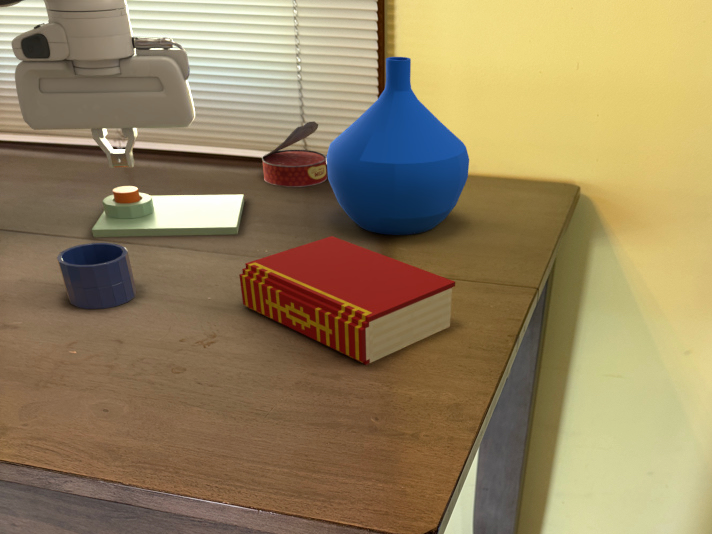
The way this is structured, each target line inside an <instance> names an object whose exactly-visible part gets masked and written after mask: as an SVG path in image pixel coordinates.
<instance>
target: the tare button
mask: <svg viewBox="0 0 712 534" xmlns="http://www.w3.org/2000/svg"><path fill="white" fill-rule="evenodd" d="M139 193H140V191H139V187H137V186H133V185H123V186H122V185H121V186H117V187H114V188H112V195H114V199H115V203H121V204H124V203H134V202H138V201H140V196H139Z"/></svg>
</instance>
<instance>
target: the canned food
mask: <svg viewBox="0 0 712 534" xmlns="http://www.w3.org/2000/svg"><path fill="white" fill-rule="evenodd" d="M318 128H319V123H317V122H316V121H308V122H306V123H304V124H303V125H300V126H297V127H296V128H295V129H294V130H292V131H291V132H290V134H289V135H288V136H287V137H286V139H284V141H283V142H281V143H280V144H279V145H278V146H276V148H275V149H272V150H271V151H269V152H268V153H265V154H263V155H262V156H261V161H262V170H263V171H262V172H263V180H264V182H266V183H267V184H270V185H273V186H276V187H277V186H278V187H285V188H302V187H311V186H316V185H319V184H322V183H325V182H326V180H328V172H327V158H326V156H327V155H325V154H324V153H322V152H319V151H315V150H310V149H286V148H288V147H290V146H292V145H295V144H297V143H298V142H300V141H303V140H305V139H306V138H308V137H309V136H311V135H312V134H314V133H316V131H317V130H318Z"/></svg>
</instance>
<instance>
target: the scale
mask: <svg viewBox="0 0 712 534" xmlns="http://www.w3.org/2000/svg"><path fill="white" fill-rule="evenodd" d="M139 196H140V201H138V202H134V203H124V204H121V203H115V199H114V195H113V194H111V195H107V196H105V197H104V198H103V200H102V205H103V209H104V210H103V211H102V213H101V215H100V216H99V218H98V220H97V221H96V223H95V224H94V225H93V227H92V228H91V233H92V236H93V238H113V237H114V238H115V237H117V238H119V237H165V236H166V237H167V236H169V237H170V236H172V237H173V236H218V235H219V236H220V235H221V236H223V235H224V236H225V235H227V236H228V235H238V234H239V229H240V226H241V225H240V224H241V220H242V215H243V210H244V206H245V195H244V194H195V195H194V194H184V195H183V194H181V195H180V194H179V195H177V194H175V195H174V194H173V195H149V194H148V193H144V192H139Z"/></svg>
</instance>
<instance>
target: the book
mask: <svg viewBox="0 0 712 534" xmlns="http://www.w3.org/2000/svg"><path fill="white" fill-rule="evenodd" d="M244 265H245V267H243V268H242V269H241V271H242V273H240V274H239V275H238V276H239V284H240V291H241V300H242V305H243V306H245V307H246V308H248V309H250V310H252V311H254V312H256V313H258V314H261V315H262V316H265V317H266V318H268V319H271V320H273V321H275V322H277V323H279V324H280V325H283V326H284V327H287V328H289V329H292V330H293V331H295V332H298V333H300V334H301V335H303V336H305V337H307V338H309V339H312V340H314V341H316V342H318V343H320V344H322V345H324V346H326V347H329V348H330V349H332V350H335V351H336V352H339V353H341V354H343V355H345V356H347V357H349V358H351V359H353V360H355V361H357V362H360V363H362V364H364V365H365V366H367V365H369V364H371V363H373V362H376V361H377V360H380V359H382V358H384V357H386V356H389V355H391V354H393V353H396V352H397V351H399V350H402V349H404V348H406V347H408V346H410V345H412V344H415V343H417V342H419V341H421V340H424V339H426V338H428V337H431V336H432V335H435V334H436V333H439V332H441V331H443V330H445V329H448V328H450V327H451V315H452V313H451V312H452V300H453V299H452V296H453V288H454V287H456V281H454V280H452V279H450V278H447V277H444V276H442V275H439V274H436V273H433V272H431V271H428V270H425V269H422V268H420V267H417V266H414V265H411V264H409V263H406V262H403V261H401V260H398V259H395V258H392V257H389V256H387V255H384V254H382V253H379V252H376V251H373V250H371V249H368V248H366V247H363V246H360V245H358V244H354V243H352V242H349V241H346V240H344V239H341V238H338V237H335V236H334V235H333V236H332V235H331V236H327V237H324V238H321V239H319V240H315V241H312V242H308V243H305V244H302V245H299V246H295V247H292V248H289V249H287V250H282V251H280V252H277V253H274V254H270V255H268V256H264V257H261V258H258V259H255V260H251V261H248V262H245V263H244Z"/></svg>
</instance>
